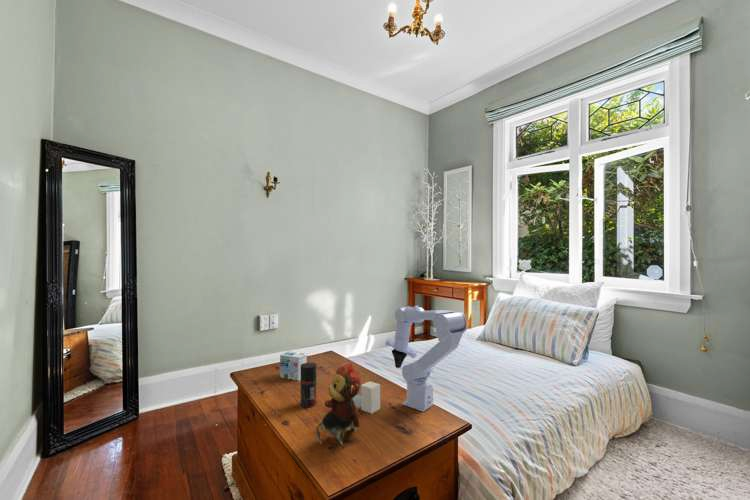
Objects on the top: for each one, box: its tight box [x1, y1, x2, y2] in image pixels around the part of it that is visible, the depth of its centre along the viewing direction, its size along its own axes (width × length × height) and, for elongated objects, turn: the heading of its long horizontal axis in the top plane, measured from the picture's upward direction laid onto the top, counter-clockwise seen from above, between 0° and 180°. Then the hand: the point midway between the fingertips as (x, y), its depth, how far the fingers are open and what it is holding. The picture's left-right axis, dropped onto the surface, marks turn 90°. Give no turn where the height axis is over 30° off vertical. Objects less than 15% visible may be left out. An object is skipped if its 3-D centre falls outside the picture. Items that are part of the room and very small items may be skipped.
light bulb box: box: [279, 350, 308, 382], centre depth 159 cm, size 11×7×11 cm, turn 68°
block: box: [360, 380, 381, 414], centre depth 126 cm, size 5×5×9 cm
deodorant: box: [300, 362, 318, 409], centre depth 131 cm, size 6×6×15 cm
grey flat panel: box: [353, 394, 361, 410], centre depth 133 cm, size 13×11×1 cm
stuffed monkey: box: [315, 361, 362, 446], centre depth 105 cm, size 15×17×25 cm
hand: (398, 367), depth 140 cm, fingers closed
